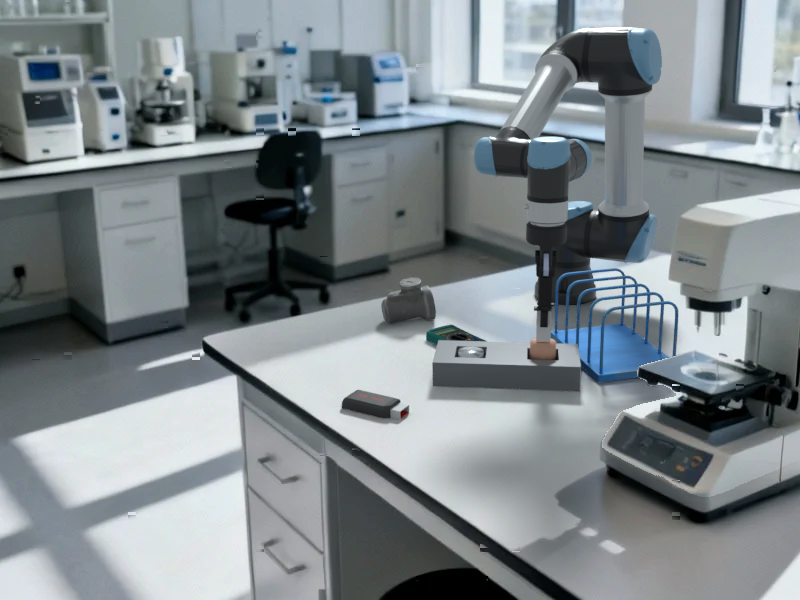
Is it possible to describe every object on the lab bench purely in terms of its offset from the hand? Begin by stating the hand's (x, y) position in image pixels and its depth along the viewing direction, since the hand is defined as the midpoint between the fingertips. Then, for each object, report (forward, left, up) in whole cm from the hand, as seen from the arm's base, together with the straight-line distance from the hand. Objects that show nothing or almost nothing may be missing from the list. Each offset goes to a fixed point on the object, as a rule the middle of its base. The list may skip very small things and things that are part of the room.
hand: (543, 340), depth 179 cm
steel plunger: (+11, -9, -7) cm, 16 cm away
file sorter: (-20, -1, -8) cm, 21 cm away
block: (+5, -5, -8) cm, 10 cm away
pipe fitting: (+3, -44, -8) cm, 44 cm away
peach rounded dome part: (0, 0, -4) cm, 4 cm away
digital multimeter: (+3, -24, -9) cm, 26 cm away
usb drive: (+34, -6, -9) cm, 36 cm away
